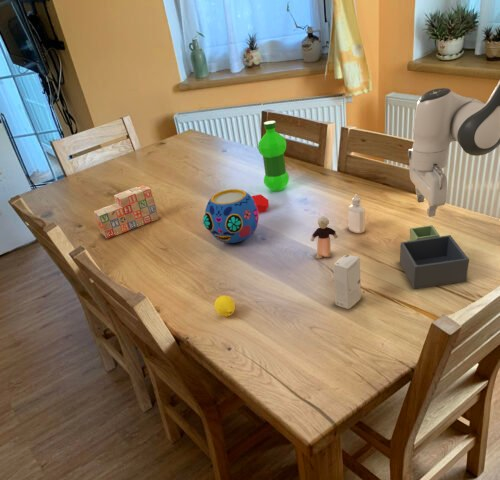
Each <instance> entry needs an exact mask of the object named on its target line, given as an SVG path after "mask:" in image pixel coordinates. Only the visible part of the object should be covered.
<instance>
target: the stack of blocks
mask: <svg viewBox="0 0 500 480" xmlns="http://www.w3.org/2000/svg"><path fill="white" fill-rule="evenodd" d="M113 197H114V200H115V203H113V204H110V205H107V206H104V207H102V208H99V209H96V210H94V211H93V214H94V217H95V220H96V223H97V226H98V228H99V232H100V233H101V235H102V236H103V237H105V238H106V239H110V238H113V237H115V236H118V235H121V234H124V233H126V232H128V231H131V230H134V229H137V228H139V227H141V226H144V225H147V224H150V223H152V222H154V221H157V220H160V217H159V214H158V210H157V207H156V203H155V199H154V196H153V193H152V189H151V188H150V187H149V186H147V185H145V184H141V185H138V186H135V187H132V188H129V189H126V190H124V191H121V192H118V193H116V194H114V195H113ZM153 218H154V219H153ZM145 221H146V222H145ZM142 222H143V223H142ZM140 223H141V224H140ZM137 224H138V225H137ZM134 225H135V226H134ZM132 226H133V227H132ZM127 228H128V229H127ZM122 230H123V231H122ZM117 232H118V233H117ZM114 233H115V234H114ZM111 234H112V235H111ZM109 235H110V236H109ZM106 236H107V237H106Z"/></svg>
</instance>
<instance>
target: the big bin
mask: <svg viewBox="0 0 500 480" xmlns="http://www.w3.org/2000/svg"><path fill="white" fill-rule="evenodd" d="M399 265H400V266H401V267H402V270H403V272H404V274H405V276H406V278H407V280H408V281H409V283H410V285H411V287H412V289H413V290H416V289H423V288H430V287H431V288H432V287H438V286H445V285H451V284H458V283H465V282H467V278H468V272H469V271H468V270H469V265H470V259H469V257H468V256H467V255H466V254H465V252H464V251H463V250H462V248H461V247H460V245H459V244H458V243H457V242H456V240H455V239H454V238H453V237H452V235H440V237H434V238H427V239H421V240H414V241H409V240H407V241H402V242H400V247H399Z"/></svg>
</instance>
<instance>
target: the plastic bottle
mask: <svg viewBox="0 0 500 480" xmlns="http://www.w3.org/2000/svg"><path fill="white" fill-rule="evenodd" d="M276 127H277V124H276V121H275V120H267V121H264V122H263V129H264V130H265V133H264V134H263V136H262V138H260V140H259V142H258V144H257V147H258V148H257V149H258V153H259V154H260V155H261V156H262V159H263V160H262V161H263V167H264V173H265V174H264V177H263V184H264V185H265V186H266V188H268V189H269V190H270V191H272V192H281V191H283V190H284V189H285V188H286V187H287V185H288V183H289V180H290V176H289V173H288V172H287V168H286V160H285V152H286V150H287V140H286V138H285V137H284V136H283V135H282V134H280V133H278V132H277V131H276Z"/></svg>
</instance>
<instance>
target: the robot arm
mask: <svg viewBox="0 0 500 480" xmlns="http://www.w3.org/2000/svg"><path fill="white" fill-rule="evenodd" d="M413 135H414V140H413V143H412V147H411V148H409V149H408V151H407V158H409V163H408V167H409V169H408V170H409V179H410V181H411V182H412V184H413V185H414V186H415V194H416V196H415V198H416V202H417V203H424V202H425V201H427V203H428V208H427V209H426V214H427V216H428V217H429V218H433V217H435V216H436V212H437V209H438V208H439V207H443V206H446V203H447V197H448V178H447V176H446V174H445V173H444V171H443V169H444V168H445V167H447V165H448V159H449V150H450V144H451V143H452V142H457V143H458V144H459V145H460V147H461V149H462V150H463V152H465V153H466V154H467V155H470V156H475V157H479V156H484V155H487V154H489V153H491V152H493V151H494V150H496V149H497V148H498V147H499V146H500V80H499V81H498V82H497V84H496V86H495V88H494V90H493V92H492V93H491V95H490V96H489V98H488V100H487V101H486V103H484V102H482V101H481V100H479V99H478V98H474V97H467V96H463V95H460V94H458V93H456V92H455V91H453V90H452V89H450V88H448V87H440V88H439V87H438V88H433V89H430V90H429V91H426V92H424V93H423V94H422V95H420V97H419V98H418V101H417V103H416V107H415V112H414V119H413Z"/></svg>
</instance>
